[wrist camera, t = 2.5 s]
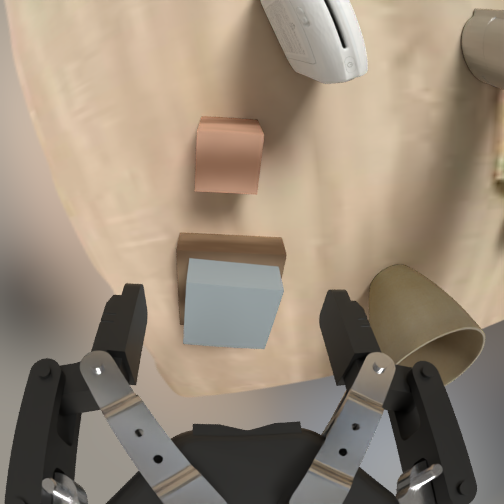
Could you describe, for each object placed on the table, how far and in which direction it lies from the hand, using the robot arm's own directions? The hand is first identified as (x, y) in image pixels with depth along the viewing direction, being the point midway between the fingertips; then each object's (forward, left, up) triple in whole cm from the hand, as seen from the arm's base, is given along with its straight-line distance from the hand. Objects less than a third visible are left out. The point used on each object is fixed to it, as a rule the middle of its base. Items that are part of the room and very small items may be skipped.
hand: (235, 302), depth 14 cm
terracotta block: (0, 0, -22) cm, 22 cm away
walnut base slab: (+17, +1, -23) cm, 28 cm away
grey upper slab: (+17, +1, -19) cm, 25 cm away
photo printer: (-13, +5, -22) cm, 26 cm away
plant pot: (+18, +25, -22) cm, 38 cm away
